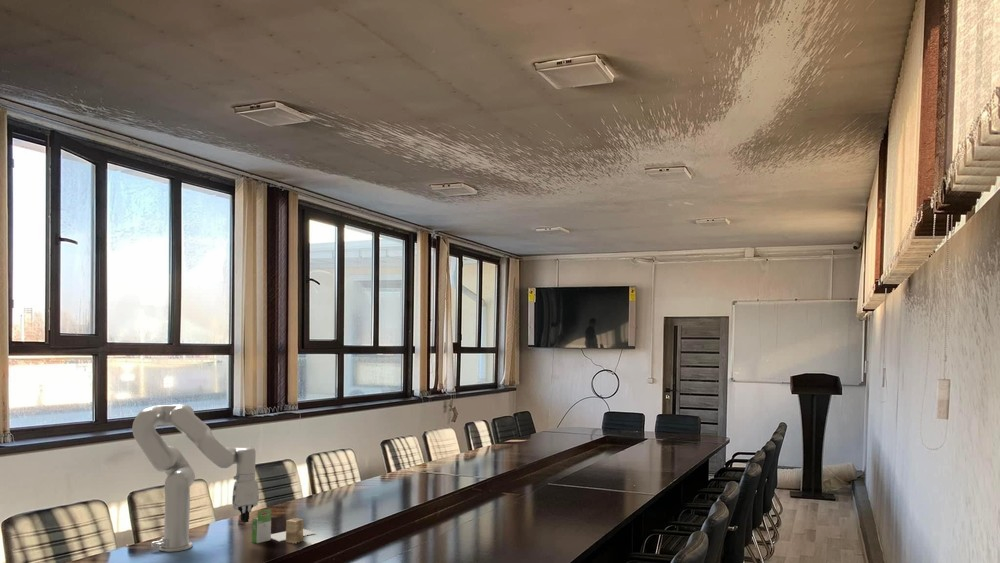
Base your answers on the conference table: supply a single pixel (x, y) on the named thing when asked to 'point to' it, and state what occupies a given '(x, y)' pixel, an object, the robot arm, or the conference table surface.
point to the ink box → (261, 527)
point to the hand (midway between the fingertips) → (244, 521)
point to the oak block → (294, 530)
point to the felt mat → (282, 535)
